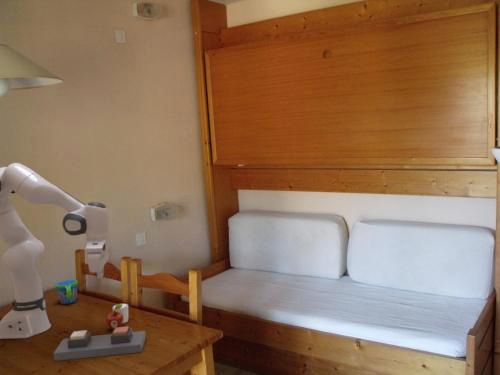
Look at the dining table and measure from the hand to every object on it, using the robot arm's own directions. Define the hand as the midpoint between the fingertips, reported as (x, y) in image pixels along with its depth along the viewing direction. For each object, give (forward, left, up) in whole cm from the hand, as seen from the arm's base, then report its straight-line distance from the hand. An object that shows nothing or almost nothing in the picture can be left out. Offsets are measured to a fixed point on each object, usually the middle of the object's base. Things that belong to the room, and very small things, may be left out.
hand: (100, 277), depth 200 cm
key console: (0, -10, -26) cm, 28 cm away
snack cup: (-29, +52, -26) cm, 65 cm away
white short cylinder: (+3, +18, -26) cm, 32 cm away
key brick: (+8, -10, -22) cm, 25 cm away
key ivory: (-8, -10, -22) cm, 25 cm away
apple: (+2, +10, -26) cm, 28 cm away
